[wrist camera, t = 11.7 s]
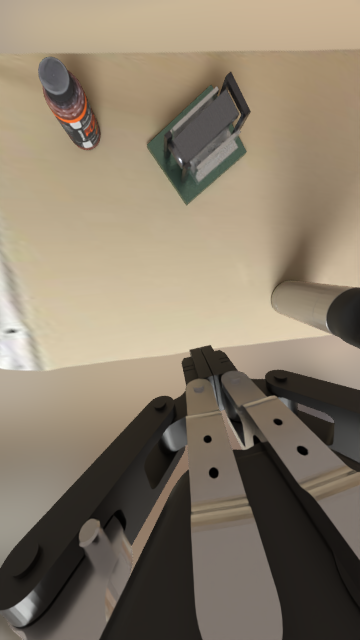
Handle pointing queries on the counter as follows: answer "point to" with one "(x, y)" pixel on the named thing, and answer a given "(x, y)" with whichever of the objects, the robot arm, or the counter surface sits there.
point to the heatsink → (213, 156)
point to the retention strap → (203, 129)
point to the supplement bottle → (69, 103)
